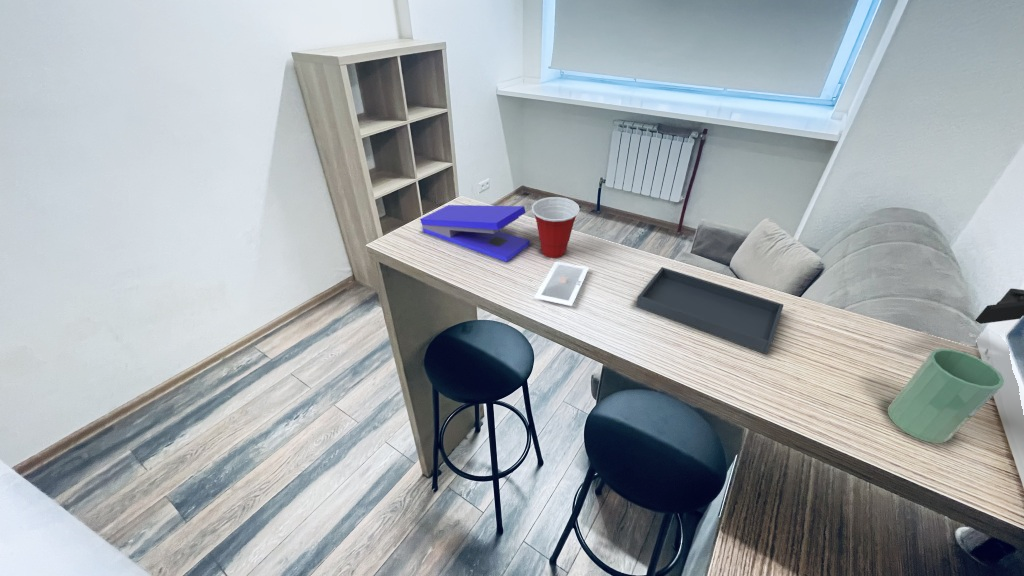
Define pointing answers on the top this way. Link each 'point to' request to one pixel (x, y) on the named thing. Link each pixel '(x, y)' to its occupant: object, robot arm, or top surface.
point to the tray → (712, 308)
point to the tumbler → (944, 395)
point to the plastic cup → (555, 224)
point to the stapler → (477, 228)
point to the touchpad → (562, 283)
